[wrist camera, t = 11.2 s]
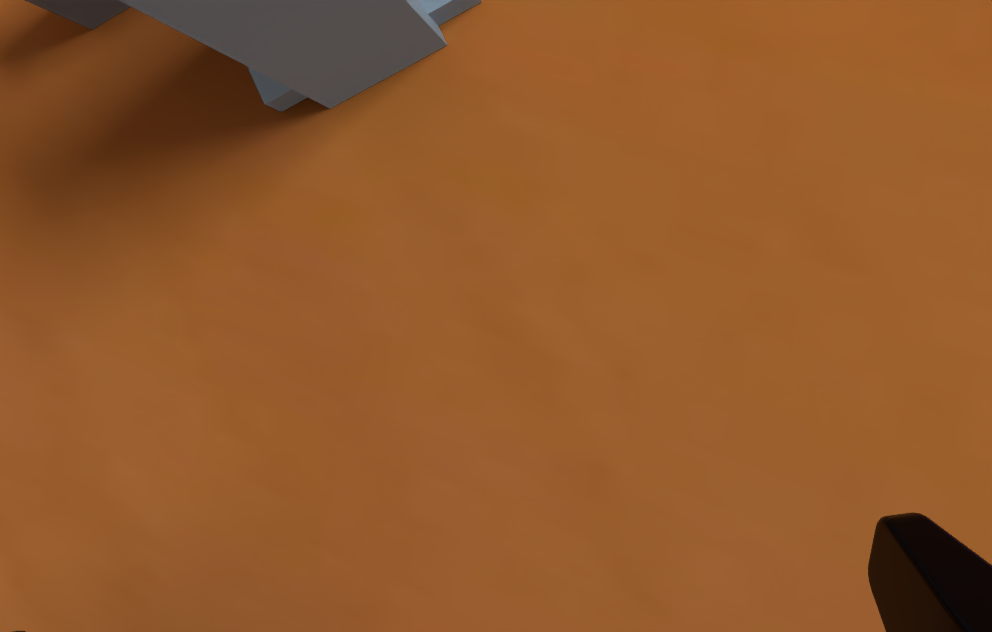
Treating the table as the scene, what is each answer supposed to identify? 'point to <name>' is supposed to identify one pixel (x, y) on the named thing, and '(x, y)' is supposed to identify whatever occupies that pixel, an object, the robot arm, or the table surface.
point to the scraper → (296, 38)
